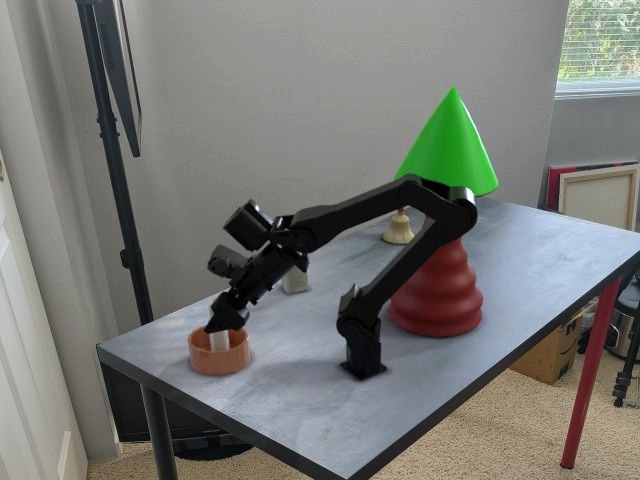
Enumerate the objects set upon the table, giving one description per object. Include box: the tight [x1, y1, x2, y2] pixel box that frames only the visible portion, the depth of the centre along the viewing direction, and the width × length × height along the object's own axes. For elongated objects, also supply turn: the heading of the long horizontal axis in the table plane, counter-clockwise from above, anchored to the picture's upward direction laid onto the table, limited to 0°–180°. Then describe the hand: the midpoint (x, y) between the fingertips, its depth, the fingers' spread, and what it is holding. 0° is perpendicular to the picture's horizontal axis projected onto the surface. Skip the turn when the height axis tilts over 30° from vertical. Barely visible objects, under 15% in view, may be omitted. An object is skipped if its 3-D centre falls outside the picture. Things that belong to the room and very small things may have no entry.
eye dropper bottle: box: [207, 298, 230, 351], centre depth 134 cm, size 4×6×12 cm
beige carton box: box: [280, 266, 309, 295], centre depth 160 cm, size 5×4×10 cm
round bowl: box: [187, 324, 251, 376], centre depth 136 cm, size 11×11×5 cm
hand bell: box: [382, 207, 415, 245], centre depth 182 cm, size 8×8×16 cm
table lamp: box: [387, 85, 499, 338], centre depth 140 cm, size 20×20×45 cm
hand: (213, 319), depth 133 cm, fingers open, 9 cm apart
